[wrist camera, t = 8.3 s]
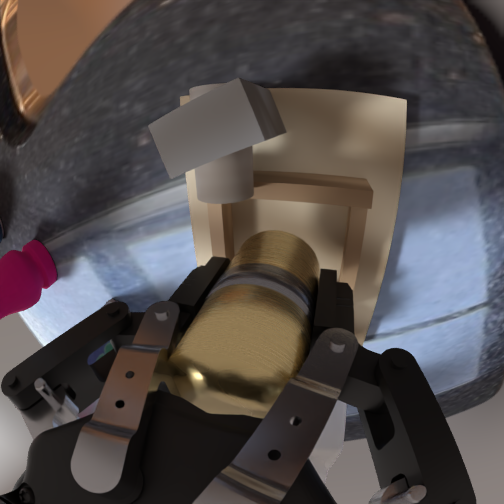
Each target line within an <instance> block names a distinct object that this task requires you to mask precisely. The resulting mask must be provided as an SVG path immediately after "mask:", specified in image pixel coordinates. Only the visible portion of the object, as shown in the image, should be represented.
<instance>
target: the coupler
mask: <svg viewBox="0 0 504 504" xmlns="http://www.w3.org/2000/svg"><path fill="white" fill-rule="evenodd" d="M319 275H320V267H319V262H318V259H317V256H316V254H315V252H314V251H313V249H312V248H311V247H310V246H309V245H308V244H307V243H306V242H305V241H304V240H302V239H301V238H299V237H298V236H296V235H294V234H291V233H288V232H285V231H279V230H268V231H263V232H259V233H257V234H255V235H253V236H251V237H250V238H248V239H247V240H246V241H245V242H244V243H243V244H242V246H241V247H240V249H239V250H238V252H237V253H236V255H235V256H234V258H233V259H232V261H231V263H230V264H229V266H228V267H227V269H226V270H225V272H224V273H223V274H222V275H221V276H220V277H219V279H218V280H217V282H216V283H215V285H214V286H213V288H212V289H211V291H210V293H209V294H208V296H207V297H206V299H205V300H204V302H203V305H202V308H201V309H200V311H199V312H198V314H197V315H196V317H195V319H194V320H193V322H192V323H191V325H190V326H189V328H188V330H187V331H186V333H185V334H184V336H183V337H182V339H181V341H180V342H179V344H178V345H177V347H176V348H175V350H174V352H173V353H172V355H171V356H170V358H169V360H168V361H167V365H168V368H169V370H170V372H171V375H172V377H173V379H174V382H175V384H176V386H177V388H178V391H179V393H180V395H181V397H182V398H184V399H185V400H187V401H189V402H190V403H192V404H193V405H195V406H197V407H198V408H200V409H202V410H204V411H205V412H207V413H211V414H236V415H247V416H252V417H257V418H262V419H264V417H265V416H266V415H267V413H268V412H269V410H270V409H271V407H272V406H273V404H274V403H275V401H276V400H277V398H278V396H279V395H280V393H281V392H282V390H283V389H284V387H285V386H286V384H287V382H288V381H289V380H290V379H291V378H292V377H296V376H297V375H298V373H299V371H300V369H301V368H302V366H303V364H304V363H305V361H306V359H307V357H308V356H309V352H310V344H311V338H312V331H313V325H314V318H315V310H316V302H317V293H318V284H319Z"/></svg>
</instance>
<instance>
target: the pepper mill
mask: <svg viewBox="0 0 504 504" xmlns="http://www.w3.org/2000/svg"><path fill="white" fill-rule="evenodd" d="M56 279H57V272H56V267H55V264H54V262H53V260H52V258H51V256H50V254H49V252H48V251H47V249H46V248H45V247H44V245H43V244H42V243H41V242H39V241H37V240H32V241H30V242H29V243H27V244H26V245H24V246H23V249H22V252H21V251H17V250H11V251H9V252H8V253H6V254H5V255H4V256H3V257H2V258H1V259H0V319H1V318H3V317H5V316H7V315H9V314H13V313H16V312H20V311H24V310H26V309H28V308H30V307H32V306H33V305H35V304H36V303H37V302H38V301H39V299H40V296H41V291H42V288H44V289H47V288H49V287H50V286H51V285H52V284H53V283H54V282H56Z"/></svg>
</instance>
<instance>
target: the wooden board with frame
mask: <svg viewBox="0 0 504 504" xmlns="http://www.w3.org/2000/svg"><path fill="white" fill-rule="evenodd" d="M189 90H190V95H189V96H182V97H180V104H181V106H180V107H178V108H177V109H175V110H173V111H171V112H170V113H168V114H166V115H165V116H163V117H161V118H160V119H158V120H156V121H155V122H153V123H151V124H150V125H148V127H149V129H150V131H151V134H152V136H153V139H154V141H155V144H156V146H157V148H158V151H159V153H160V156H161V158H162V160H163V163H164V165H165V167H166V170H167V172H168V174H169V177H170V179H172V178H175V177H177V176H179V175H181V174H183V173H186V181H187V190H188V199H189V208H190V216H191V224H192V232H193V239H194V247H195V254H196V261H197V267H199V266H201V265H203V266H205V265H206V264H207V262H208V261H209V260H210V258H211V257H212V256H217V257H225V258H229V259H230V263H231V261H232V259H233V258H234V256H235V255H236V253H237V252H238V250H239V249H240V247H241V246H242V244H243V243H244V242H245V241H246V240H247V239H248V238H250V237H251V236H253V235H255V234H257V233H259V232H263V231H268V230H279V231H285V232H288V233H291V234H294V235H296V236H298V237H299V238H301V239H302V240H304V241H305V242H306V243H307V244H308V245H309V246H310V247H311V248H312V249H313V251H314V252H315V254H316V256H317V259H318V262H319V267H320V269H321V268H322V269H332V270H337V282H344V283H348V284H349V286H350V287H351V289H352V290H353V303H354V307H353V308H354V333H355V336H356V338H357V340H358V343H359V344H360V345H361V346H362V345H363V342H364V340H365V337H366V334H367V331H368V328H369V325H370V322H371V319H372V315H373V312H374V309H375V305H376V302H377V299H378V295H379V292H380V288H381V284H382V280H383V276H384V273H385V268H386V264H387V260H388V256H389V251H390V247H391V242H392V237H393V232H394V227H395V221H396V215H397V209H398V203H399V196H400V189H401V181H402V173H403V163H404V151H405V137H406V111H407V100H405V99H400V98H394V97H388V96H382V95H376V94H369V93H361V92H352V91H341V90H328V89H308V88H263V87H261V86H259V85H256V84H254V83H251V82H249V81H246V80H244V79H241V78H237V79H235V80H232V81H230V82H228V83H221V84H210V85H203V86H197V87H193V88H191V89H189ZM319 277H320V275H319ZM318 285H319V284H318Z"/></svg>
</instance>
